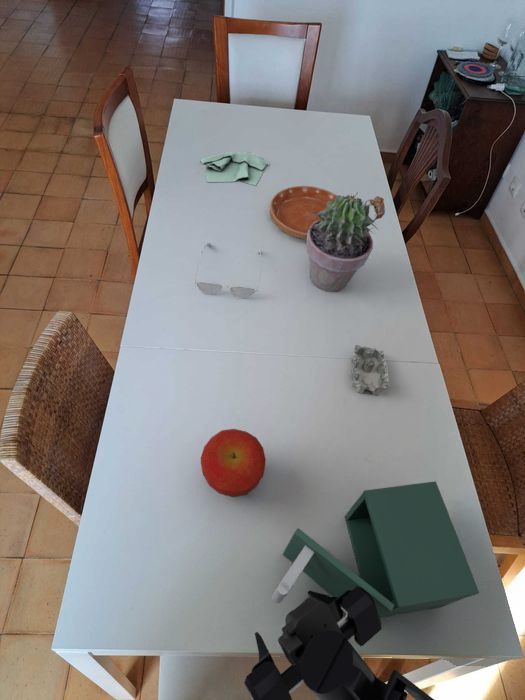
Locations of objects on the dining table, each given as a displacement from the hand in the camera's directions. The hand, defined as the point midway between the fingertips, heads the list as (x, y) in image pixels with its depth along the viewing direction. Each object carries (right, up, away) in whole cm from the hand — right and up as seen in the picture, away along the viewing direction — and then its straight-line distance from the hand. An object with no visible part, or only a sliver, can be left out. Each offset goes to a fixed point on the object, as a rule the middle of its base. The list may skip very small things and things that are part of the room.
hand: (283, 613), depth 64 cm
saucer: (+10, +75, +67) cm, 101 cm away
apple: (-9, +14, +18) cm, 24 cm away
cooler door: (+5, -3, +7) cm, 9 cm away
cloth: (-13, +94, +78) cm, 123 cm away
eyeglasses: (-11, +57, +51) cm, 77 cm away
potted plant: (+13, +56, +52) cm, 77 cm away
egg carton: (+20, +32, +35) cm, 51 cm away
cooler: (+19, +2, +12) cm, 22 cm away
